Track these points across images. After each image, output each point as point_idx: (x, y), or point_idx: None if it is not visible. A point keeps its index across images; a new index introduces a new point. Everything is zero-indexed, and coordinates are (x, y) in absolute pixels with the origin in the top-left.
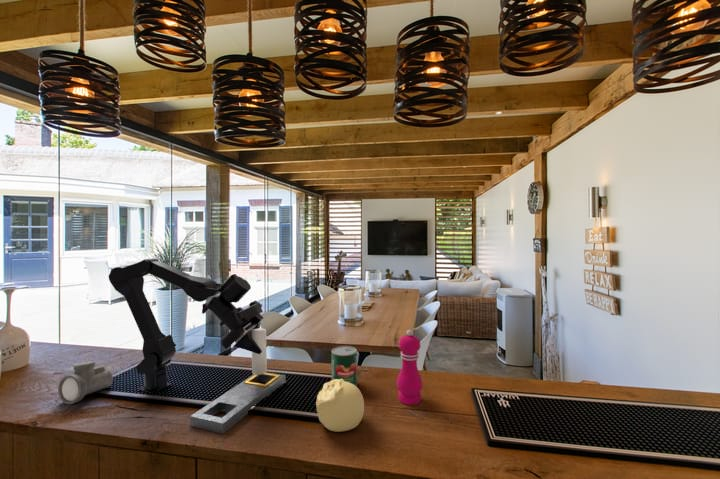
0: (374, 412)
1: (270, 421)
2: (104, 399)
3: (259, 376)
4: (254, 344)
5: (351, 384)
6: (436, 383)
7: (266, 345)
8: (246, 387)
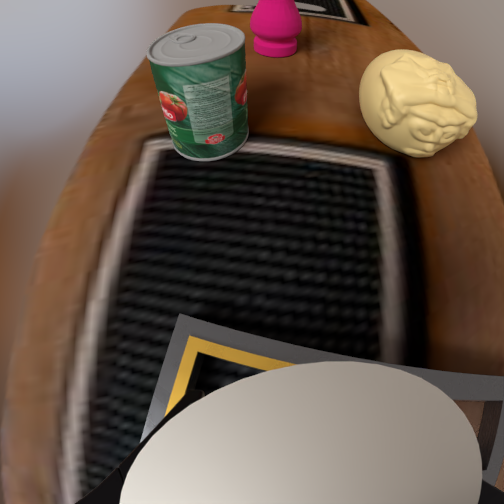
0: (337, 85)
1: (445, 284)
2: None
3: None
4: None
5: (408, 50)
6: None
7: (199, 395)
8: None
